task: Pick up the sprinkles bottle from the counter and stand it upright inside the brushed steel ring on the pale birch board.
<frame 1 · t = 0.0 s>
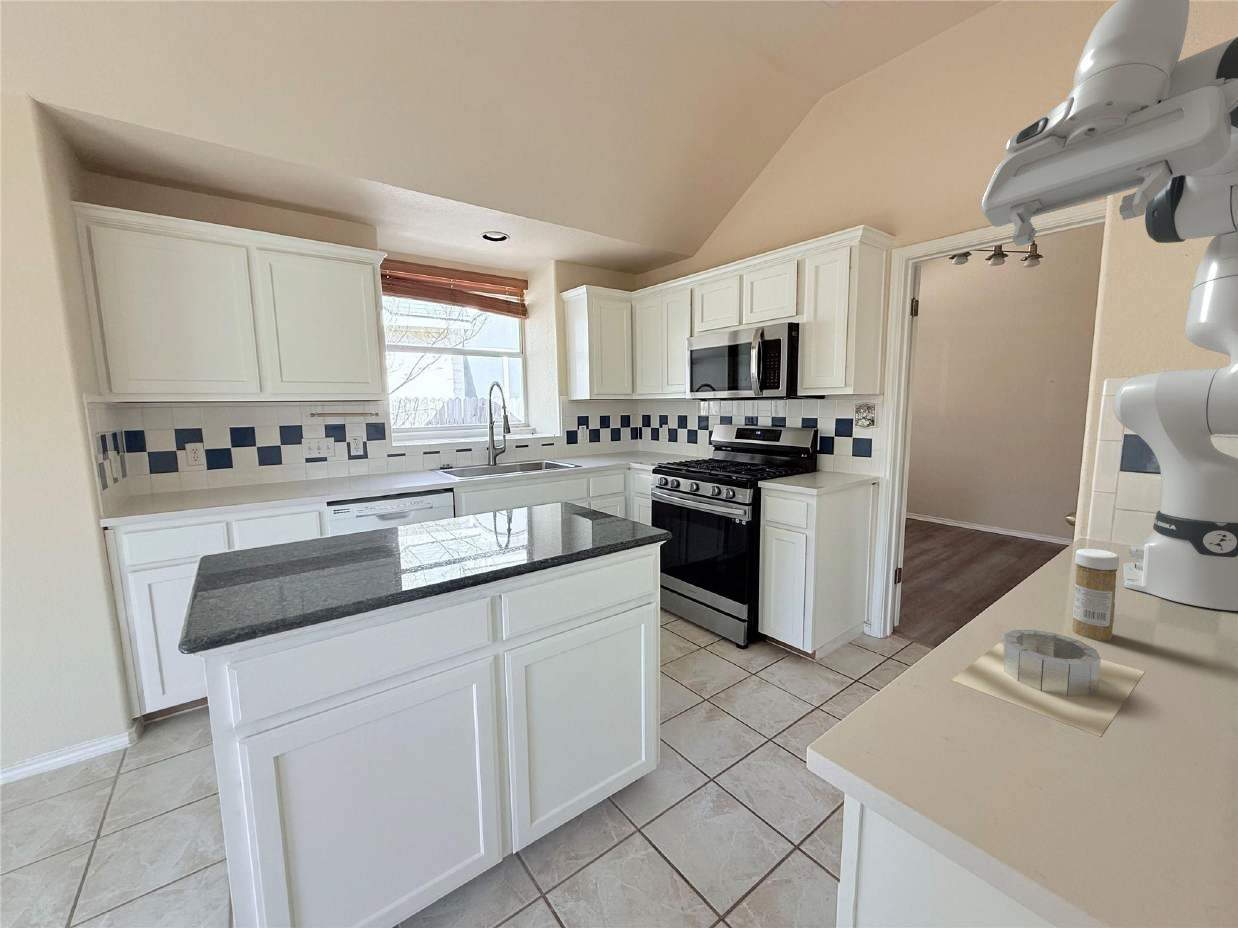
hand: (1072, 229, 56), 54 cm above the counter, tool tilted 30°, fingers open, 8 cm apart
sprinkles bottle: (1090, 642, 75), on the counter
steel ring: (1048, 675, 64), resting on birch board
birch board: (1047, 684, 65), on the counter
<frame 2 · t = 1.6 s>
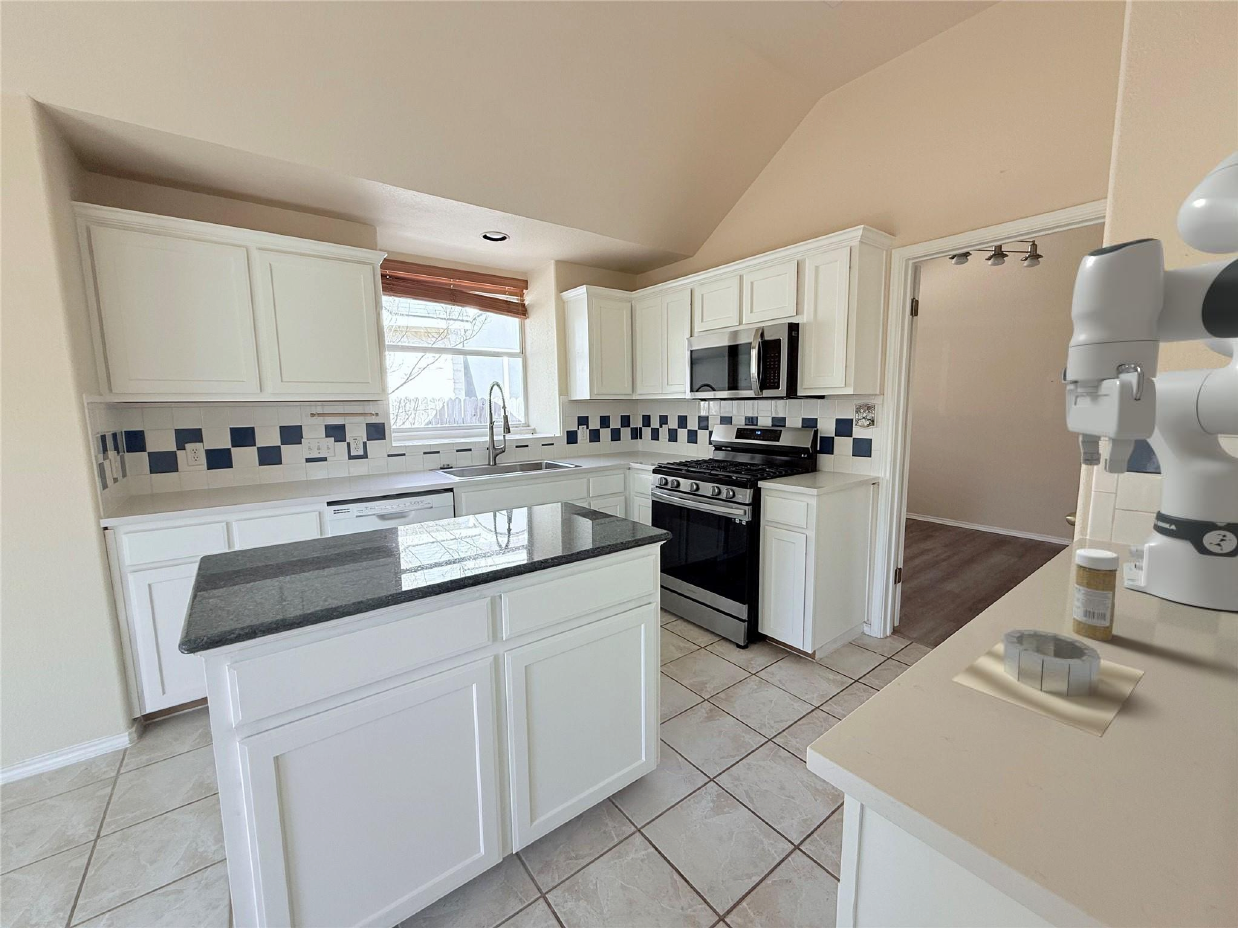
hand: (1101, 468, 71), 26 cm above the counter, tool pointing down, fingers open, 8 cm apart
nothing on the counter moved.
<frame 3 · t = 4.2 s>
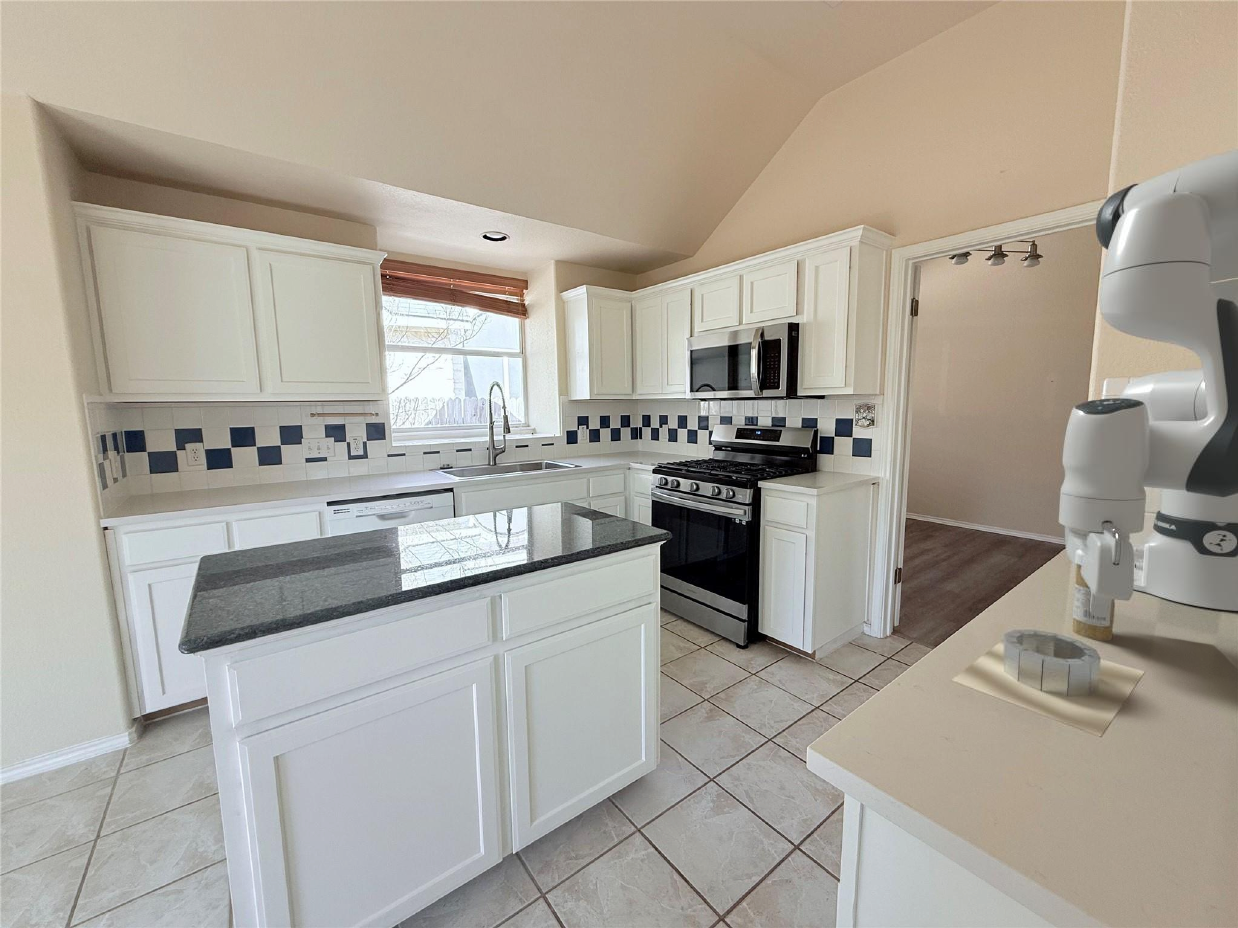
hand: (1093, 607, 74), 5 cm above the counter, tool pointing down, fingers closed on sprinkles bottle, 4 cm apart
sprinkles bottle: (1090, 642, 75), on the counter, touching gripper
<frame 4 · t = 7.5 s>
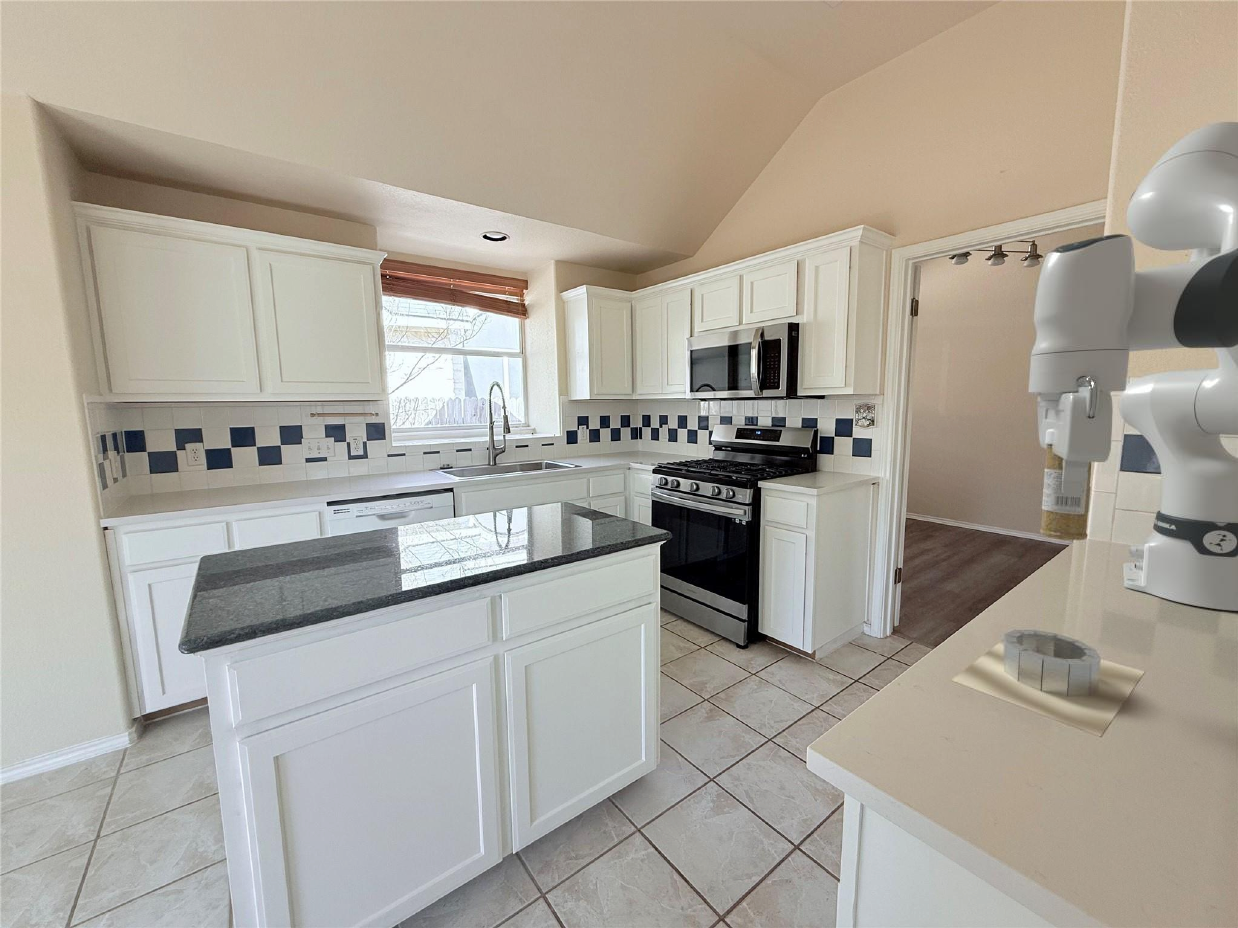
hand: (1066, 491, 63), 24 cm above the counter, tool pointing down, fingers closed on sprinkles bottle, 4 cm apart
sprinkles bottle: (1062, 538, 64), point 18 cm above the counter, touching gripper
when the fingers open (8 cm above the counter, at t = 10.7 s): sprinkles bottle moves 1 cm, resting on birch board.
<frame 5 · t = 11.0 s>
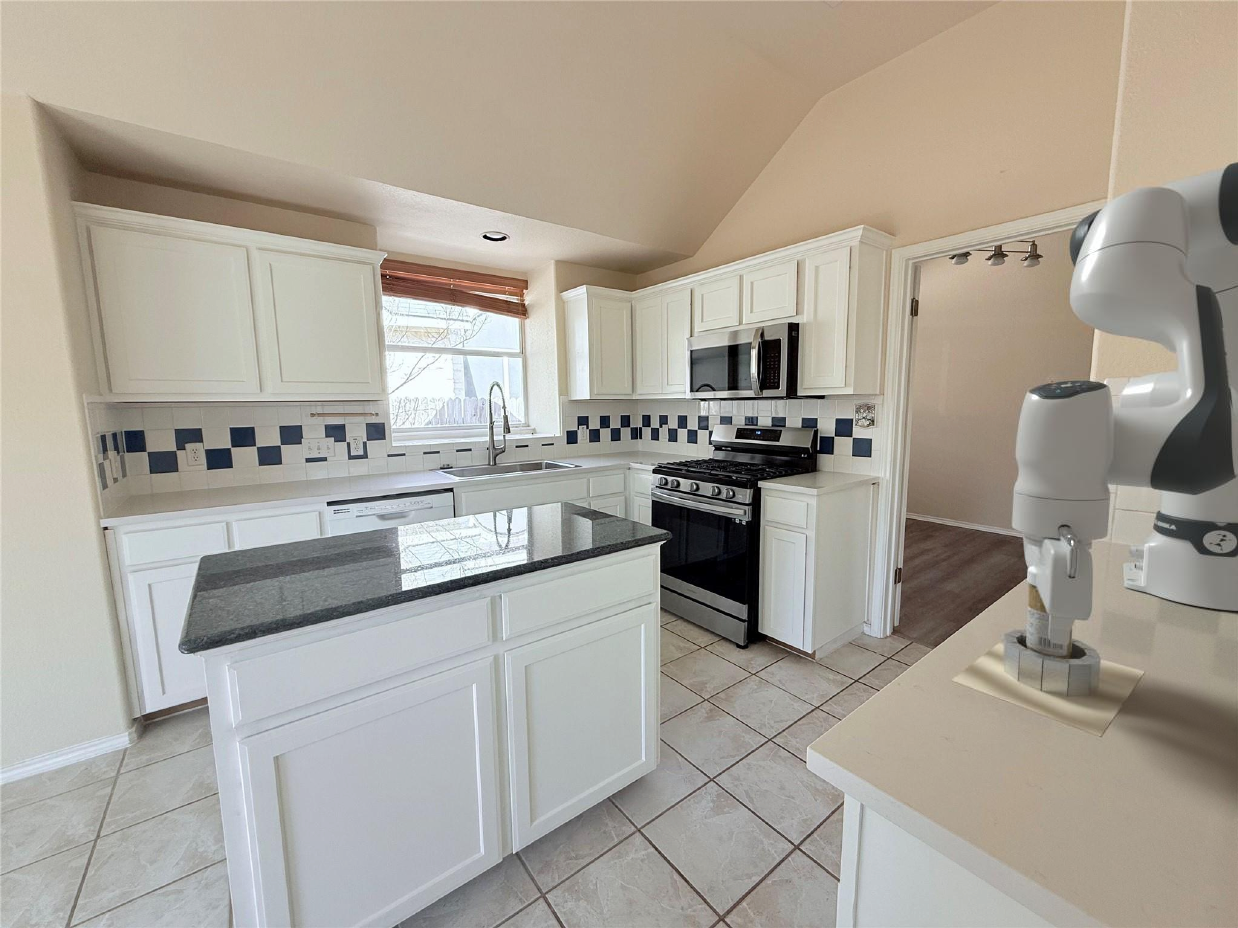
hand: (1051, 626, 64), 8 cm above the counter, tool pointing down, fingers open, 8 cm apart
sprinkles bottle: (1046, 673, 65), point 1 cm above the counter, touching birch board
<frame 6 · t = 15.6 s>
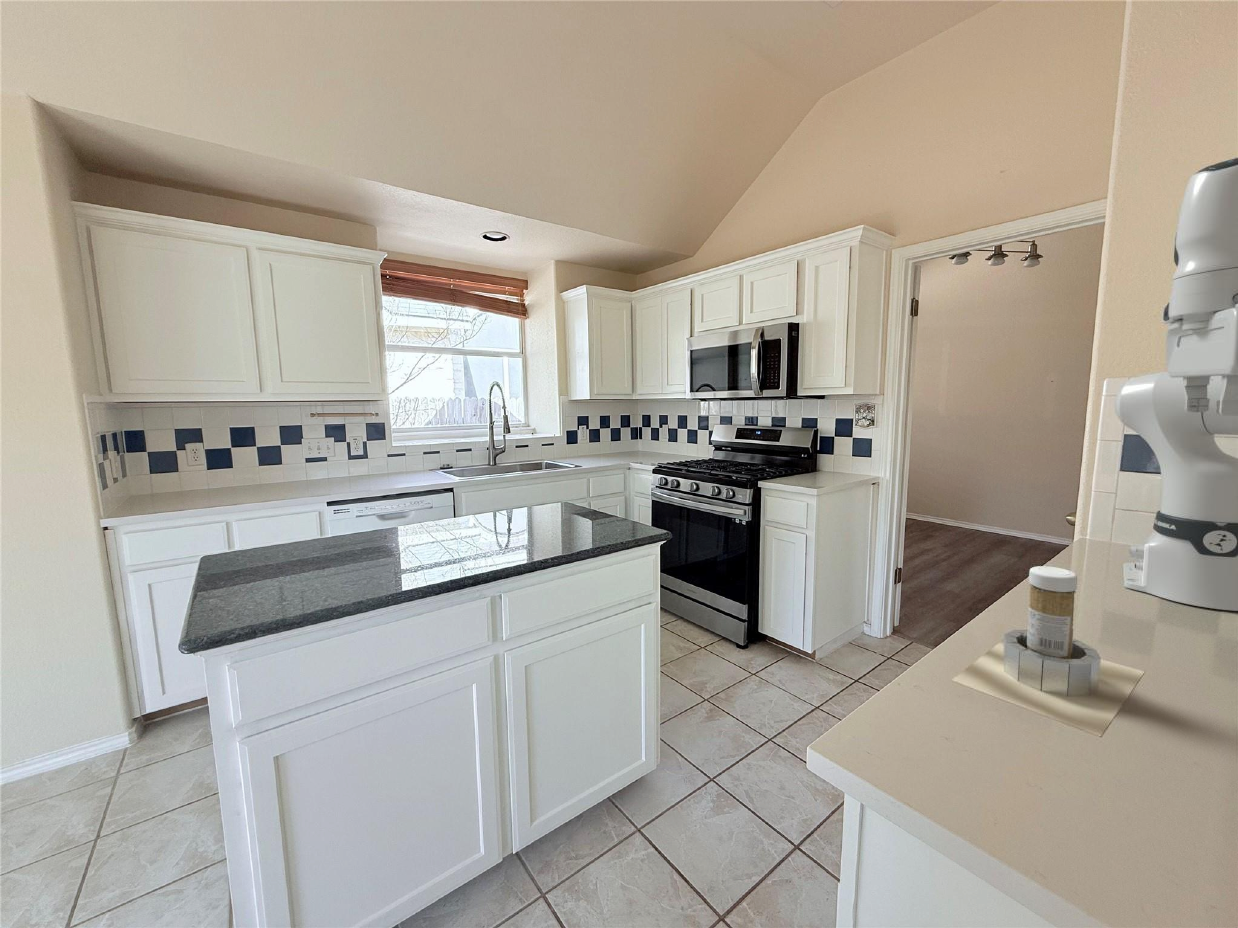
hand: (1211, 413, 64), 33 cm above the counter, tool pointing down, fingers open, 8 cm apart
nothing on the counter moved.
at the end: sprinkles bottle 0.8 cm off-centre on the steel ring, point 0.0 cm above the steel ring's base; sprinkles bottle tilted 0°; the gripper is holding nothing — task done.
